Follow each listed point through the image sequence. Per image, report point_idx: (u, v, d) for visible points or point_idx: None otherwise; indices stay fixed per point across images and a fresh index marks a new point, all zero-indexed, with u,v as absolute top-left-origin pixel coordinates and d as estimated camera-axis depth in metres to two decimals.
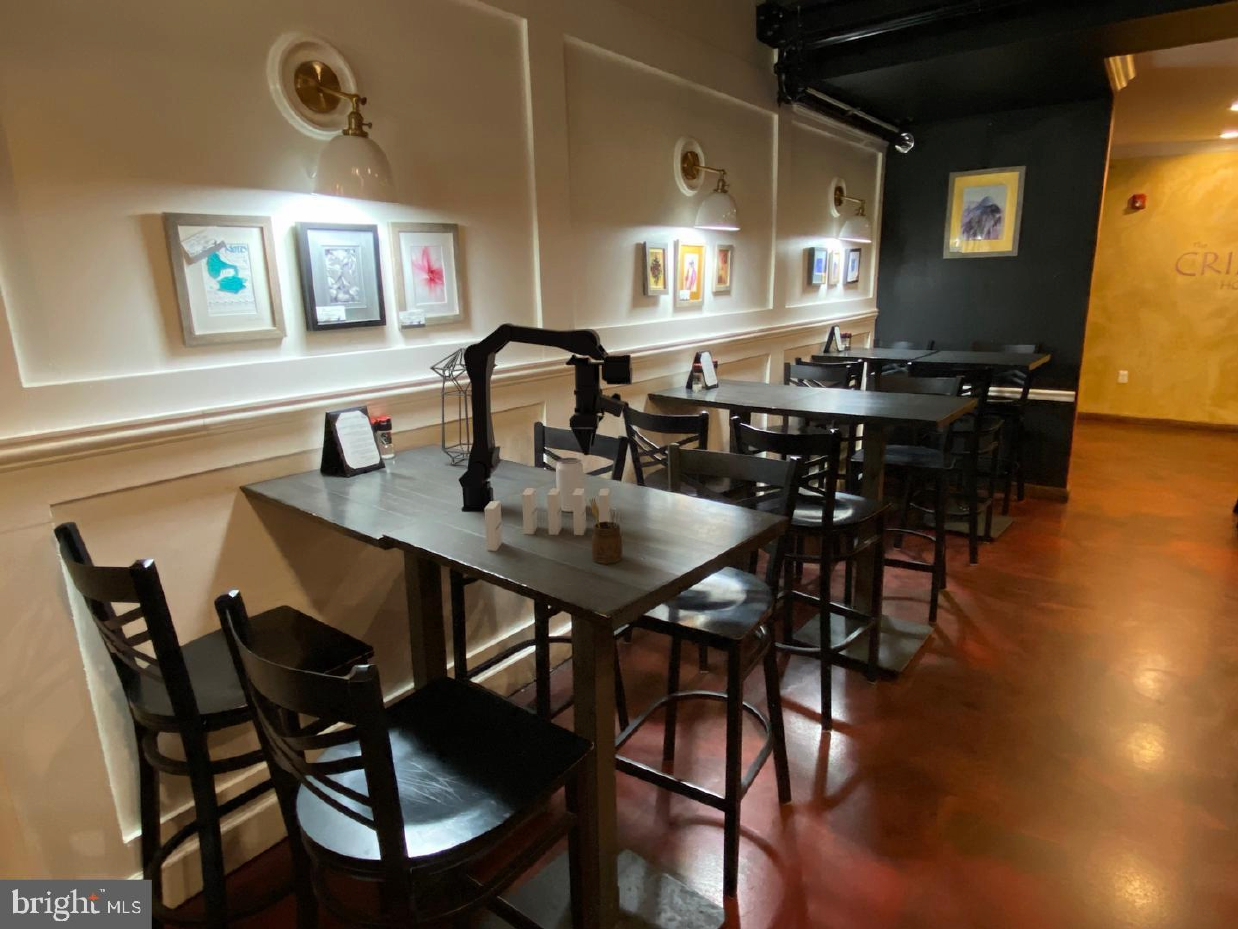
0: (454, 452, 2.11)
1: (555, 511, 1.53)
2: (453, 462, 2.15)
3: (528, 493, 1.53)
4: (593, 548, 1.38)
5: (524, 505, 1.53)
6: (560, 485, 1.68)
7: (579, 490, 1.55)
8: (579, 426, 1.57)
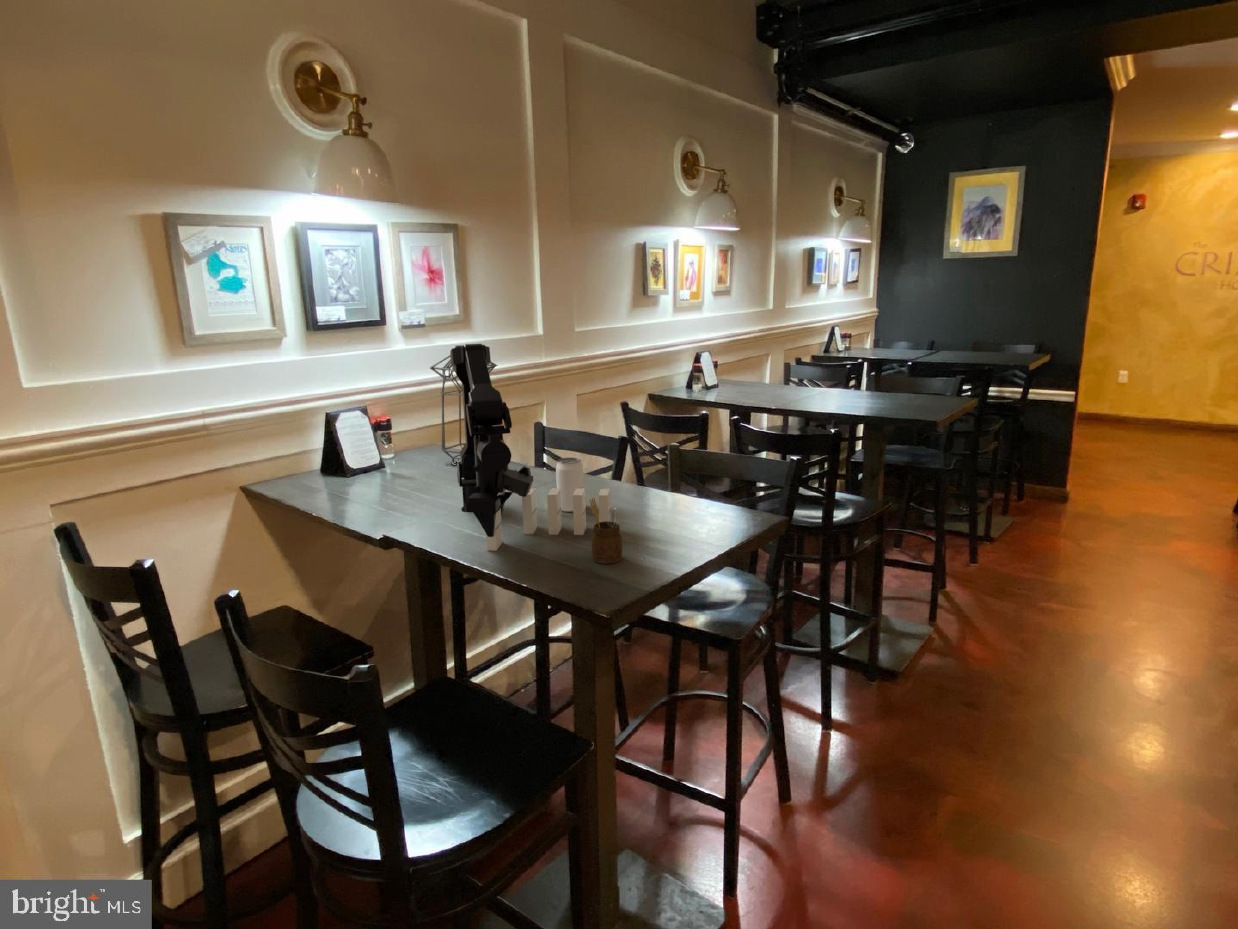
0: (454, 452, 2.11)
1: (555, 511, 1.53)
2: (453, 462, 2.15)
3: (528, 493, 1.53)
4: (593, 548, 1.38)
5: (524, 505, 1.53)
6: (560, 485, 1.68)
7: (579, 490, 1.55)
8: (475, 511, 1.37)
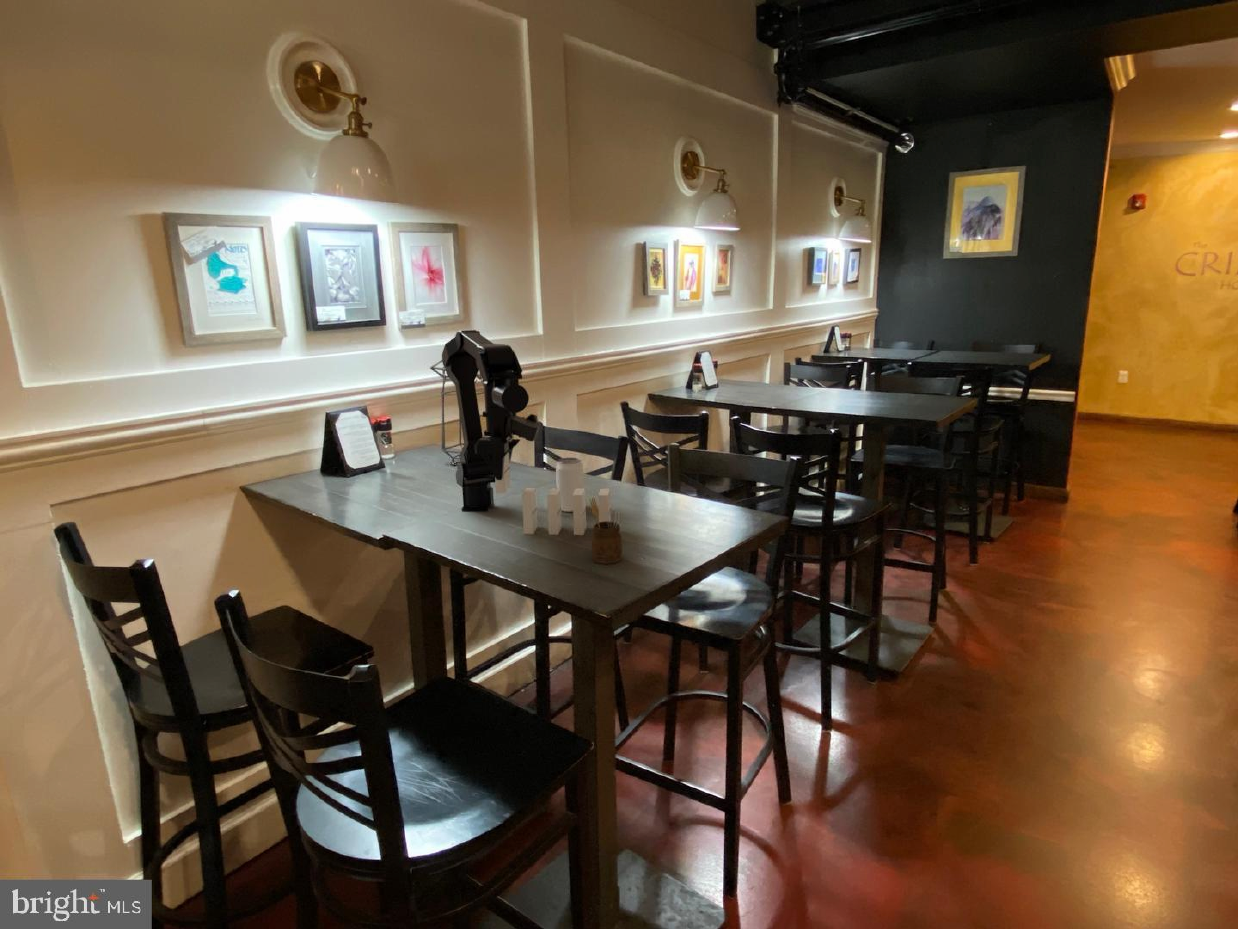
0: (454, 452, 2.11)
1: (555, 511, 1.53)
2: (453, 462, 2.15)
3: (528, 493, 1.53)
4: (593, 548, 1.38)
5: (524, 505, 1.53)
6: (560, 485, 1.68)
7: (579, 490, 1.55)
8: (485, 452, 1.44)
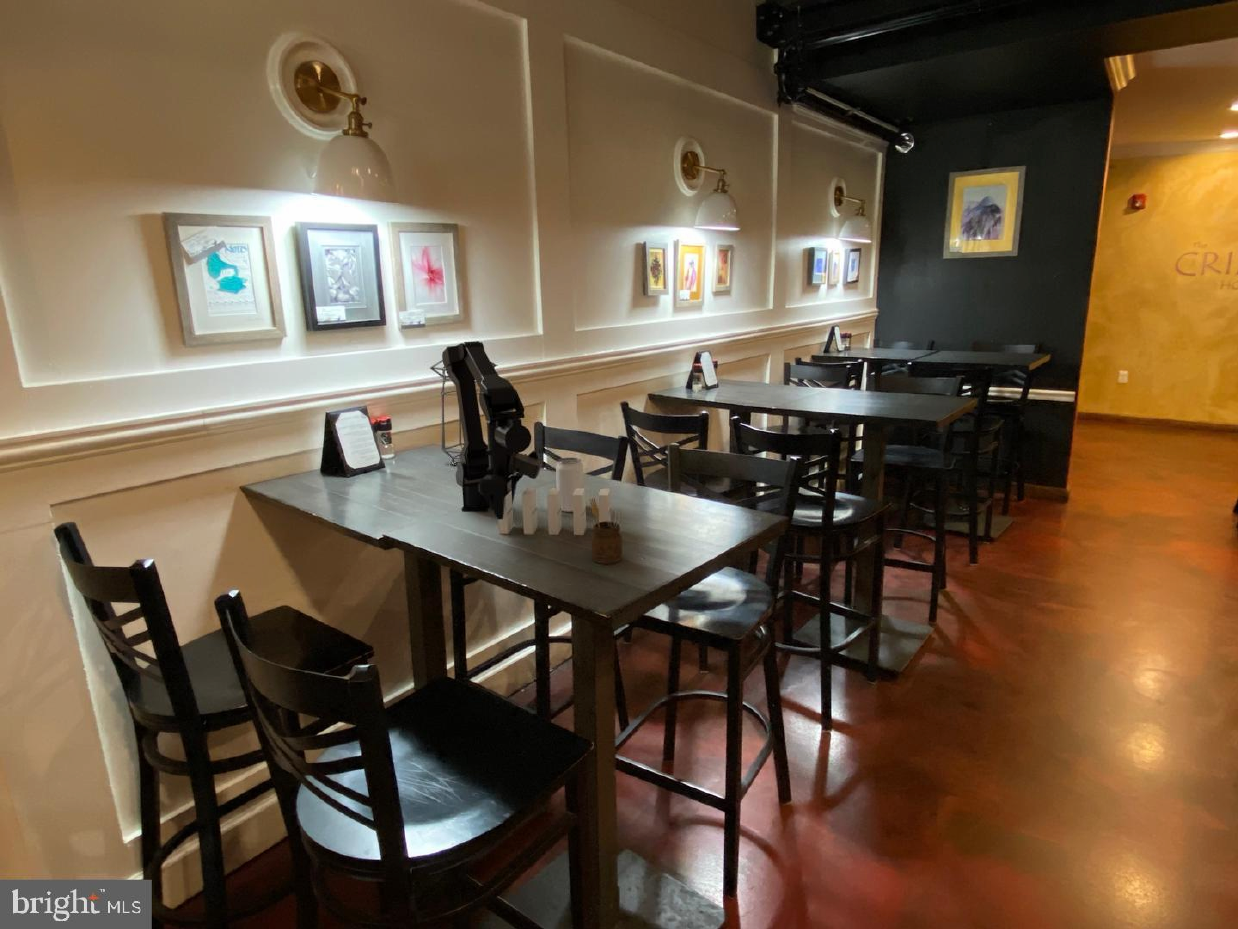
0: (454, 452, 2.11)
1: (555, 511, 1.53)
2: (453, 462, 2.15)
3: (528, 493, 1.53)
4: (593, 548, 1.38)
5: (524, 505, 1.53)
6: (560, 485, 1.68)
7: (579, 490, 1.55)
8: (488, 491, 1.46)
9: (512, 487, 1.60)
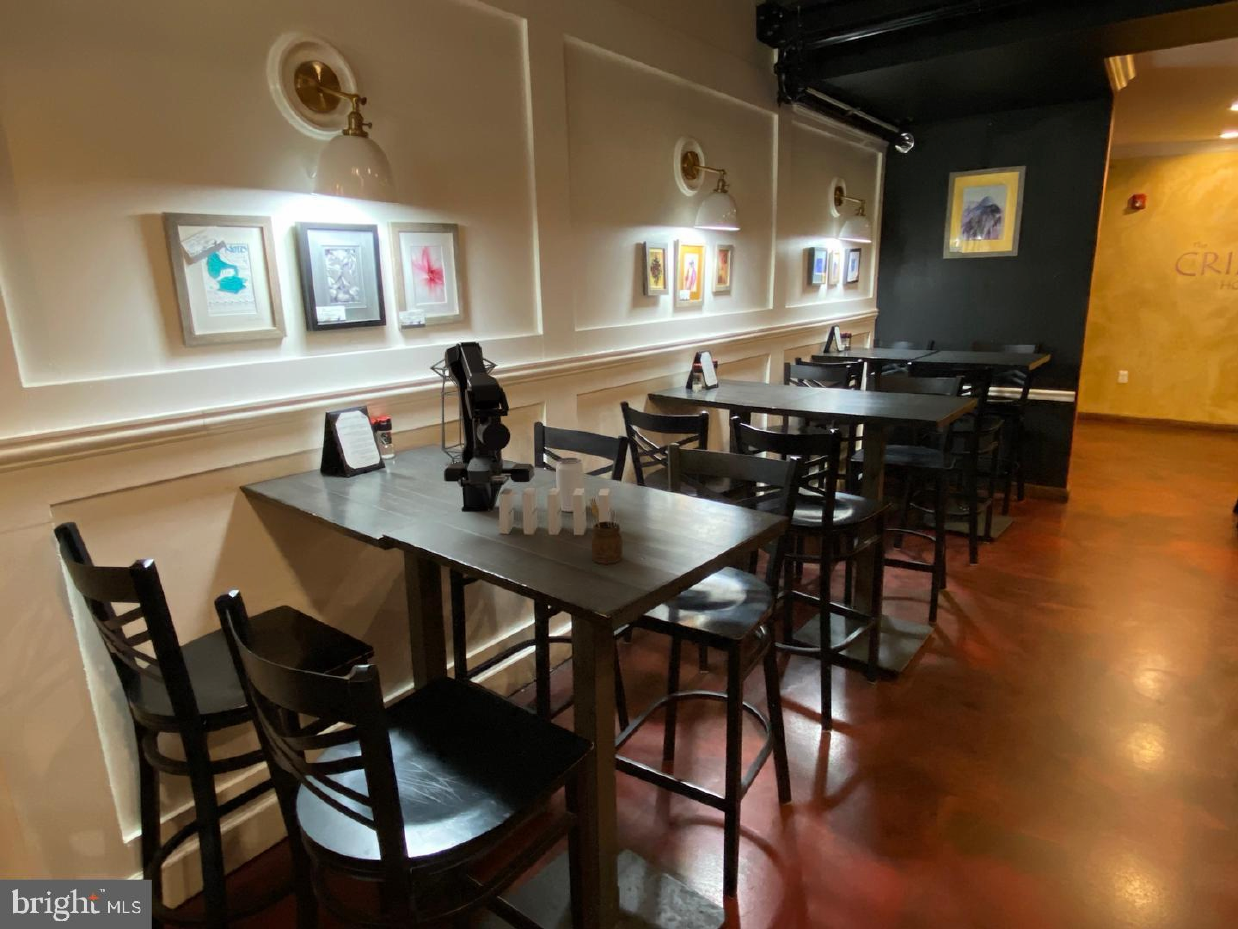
0: (454, 452, 2.11)
1: (555, 511, 1.53)
2: (453, 462, 2.15)
3: (528, 493, 1.53)
4: (593, 548, 1.38)
5: (524, 505, 1.53)
6: (560, 485, 1.68)
7: (579, 490, 1.55)
8: None
9: None
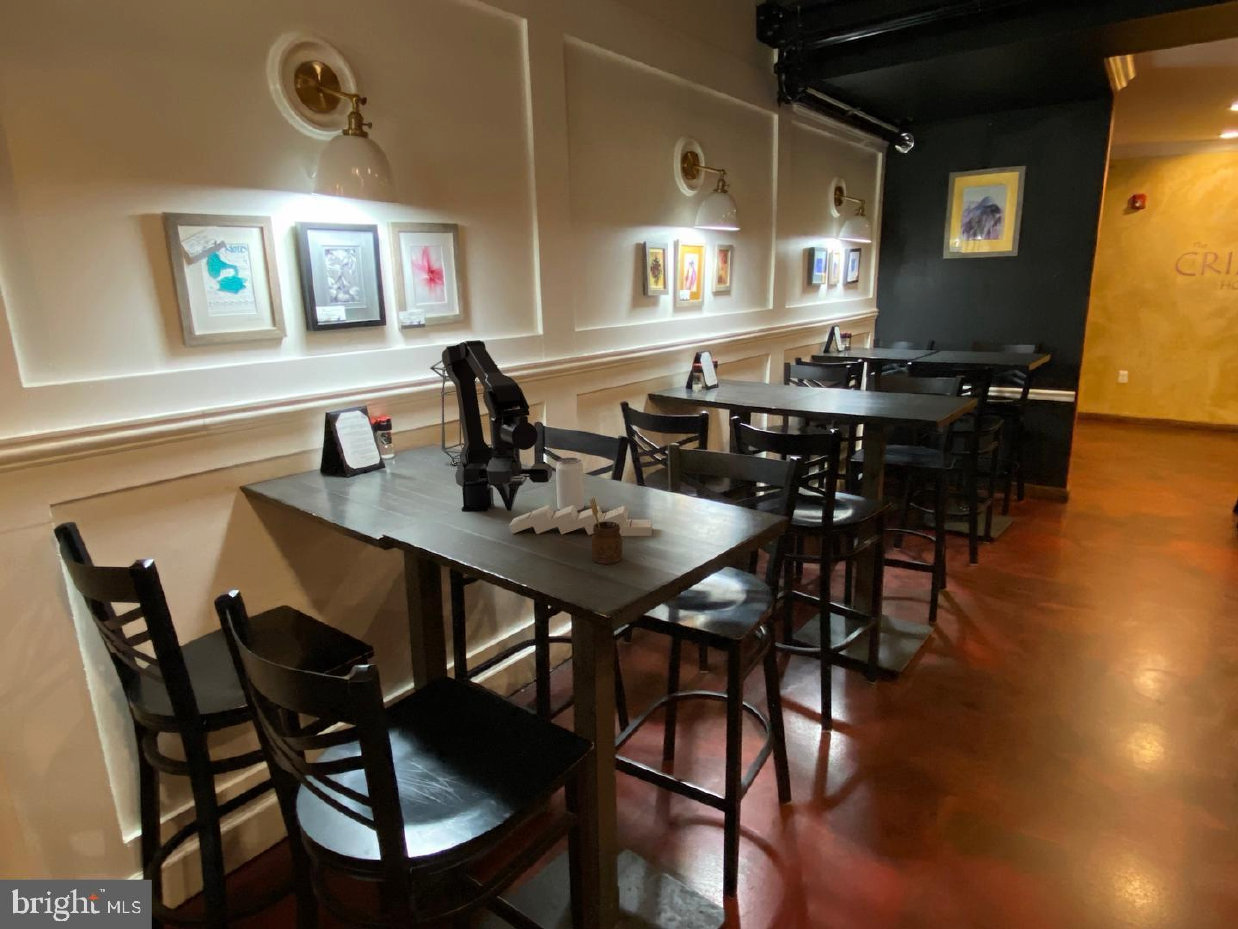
0: (454, 452, 2.11)
1: (582, 525, 1.53)
2: (453, 462, 2.15)
3: (573, 515, 1.54)
4: (593, 548, 1.38)
5: (561, 517, 1.53)
6: (560, 485, 1.68)
7: (626, 511, 1.55)
8: None
9: None
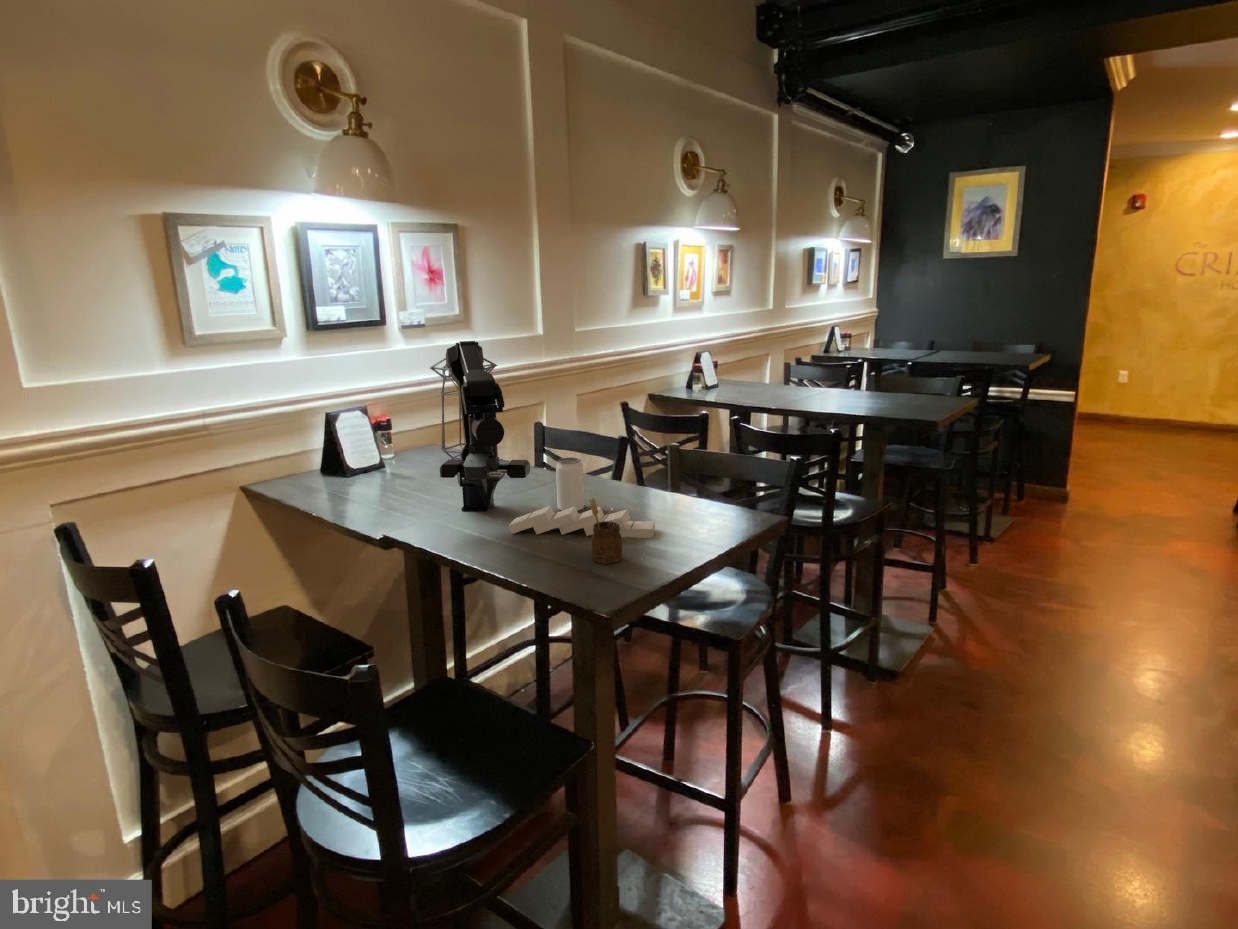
0: (454, 452, 2.11)
1: (583, 525, 1.53)
2: None
3: (573, 517, 1.53)
4: (593, 548, 1.38)
5: (560, 518, 1.53)
6: (560, 485, 1.68)
7: (627, 515, 1.53)
8: None
9: None
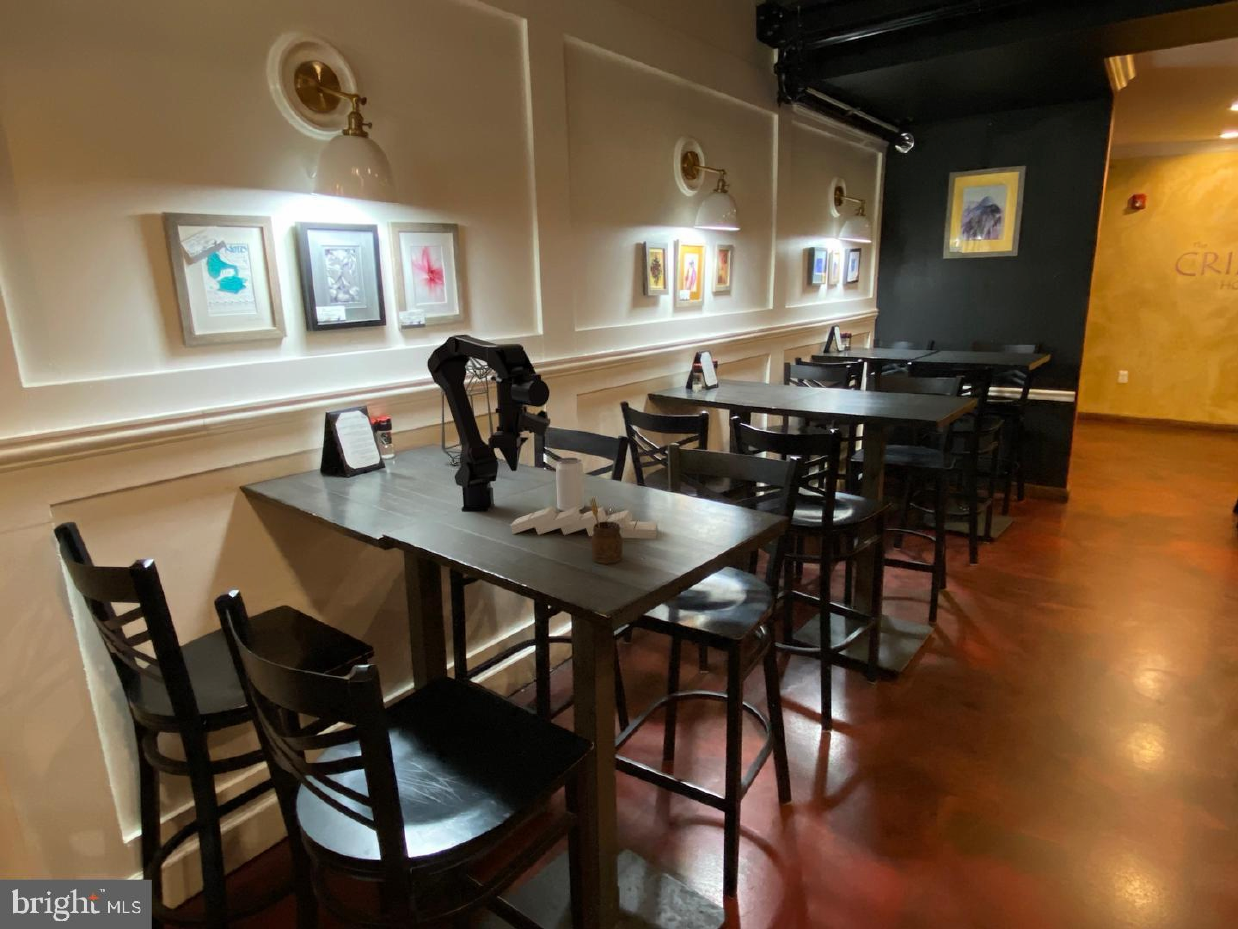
0: (454, 452, 2.11)
1: (585, 526, 1.53)
2: (453, 462, 2.15)
3: (575, 518, 1.53)
4: (593, 548, 1.38)
5: (562, 519, 1.52)
6: (560, 485, 1.68)
7: (629, 516, 1.53)
8: (498, 446, 1.50)
9: None
